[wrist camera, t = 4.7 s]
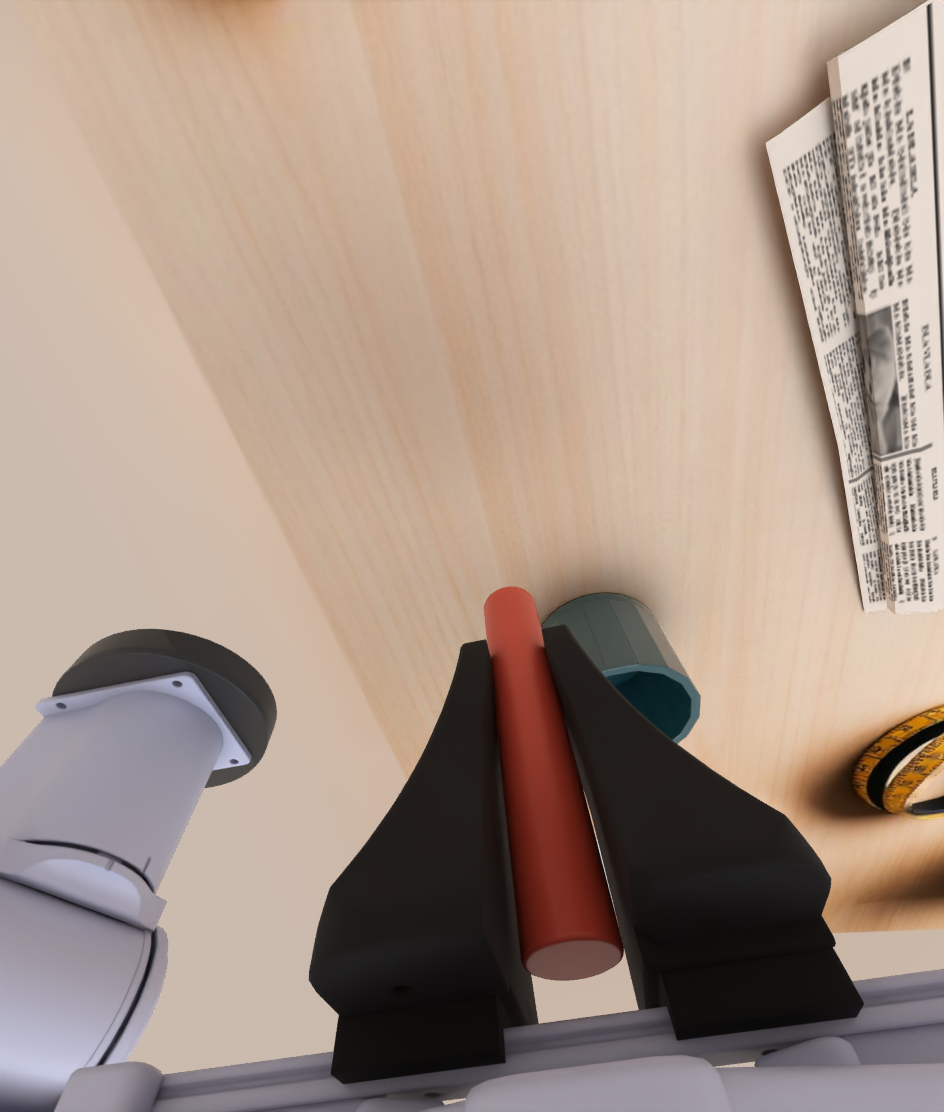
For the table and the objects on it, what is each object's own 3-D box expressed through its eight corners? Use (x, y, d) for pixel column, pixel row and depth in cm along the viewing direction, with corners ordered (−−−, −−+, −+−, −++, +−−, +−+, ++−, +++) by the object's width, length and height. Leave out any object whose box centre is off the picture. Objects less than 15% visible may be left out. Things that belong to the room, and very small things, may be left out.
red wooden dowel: (489, 630, 16) (530, 988, 8) (478, 591, 15) (513, 946, 7) (538, 621, 16) (628, 975, 8) (531, 580, 15) (622, 931, 7)
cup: (542, 695, 27) (560, 776, 23) (526, 606, 24) (543, 681, 20) (657, 675, 27) (697, 753, 23) (657, 581, 24) (703, 652, 19)
